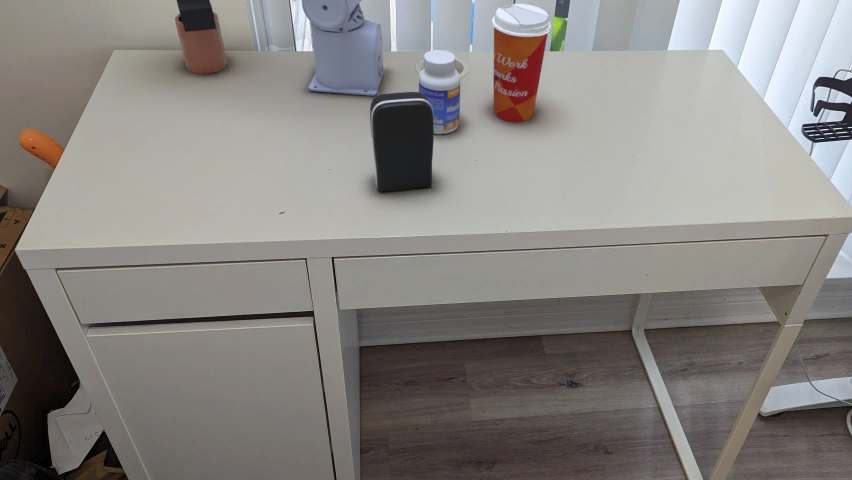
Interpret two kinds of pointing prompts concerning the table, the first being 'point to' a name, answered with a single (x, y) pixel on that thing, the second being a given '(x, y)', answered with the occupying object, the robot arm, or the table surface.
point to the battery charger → (402, 140)
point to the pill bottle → (441, 89)
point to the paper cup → (518, 59)
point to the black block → (196, 15)
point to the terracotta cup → (202, 48)
